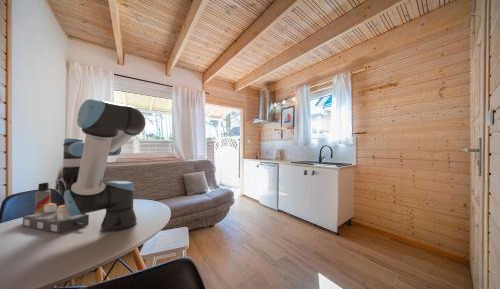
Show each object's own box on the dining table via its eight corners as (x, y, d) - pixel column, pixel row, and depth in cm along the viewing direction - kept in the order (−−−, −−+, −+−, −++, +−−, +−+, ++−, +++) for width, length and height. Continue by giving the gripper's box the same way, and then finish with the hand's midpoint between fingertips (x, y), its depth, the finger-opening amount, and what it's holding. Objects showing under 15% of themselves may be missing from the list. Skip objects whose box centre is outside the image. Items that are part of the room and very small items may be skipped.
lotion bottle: (39, 219, 98) (40, 183, 99) (31, 218, 99) (33, 183, 100) (52, 216, 104) (53, 182, 104) (45, 215, 105) (46, 181, 105)
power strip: (96, 225, 93) (97, 214, 93) (67, 236, 81) (68, 224, 81) (53, 217, 101) (54, 208, 101) (21, 226, 90) (22, 216, 90)
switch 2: (69, 212, 96) (69, 205, 96) (61, 214, 93) (62, 207, 93) (63, 211, 97) (64, 204, 97) (56, 213, 94) (57, 206, 94)
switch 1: (70, 218, 88) (71, 210, 88) (63, 220, 85) (63, 212, 85) (65, 217, 89) (65, 209, 89) (57, 219, 86) (57, 211, 86)
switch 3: (56, 210, 98) (56, 203, 98) (49, 212, 95) (49, 205, 95) (51, 209, 99) (51, 202, 99) (44, 211, 96) (44, 204, 96)
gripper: (81, 164, 106) (80, 204, 105) (52, 167, 93) (50, 211, 93) (90, 165, 104) (89, 205, 103) (62, 167, 91) (60, 213, 91)
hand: (70, 208), depth 98 cm, fingers closed
